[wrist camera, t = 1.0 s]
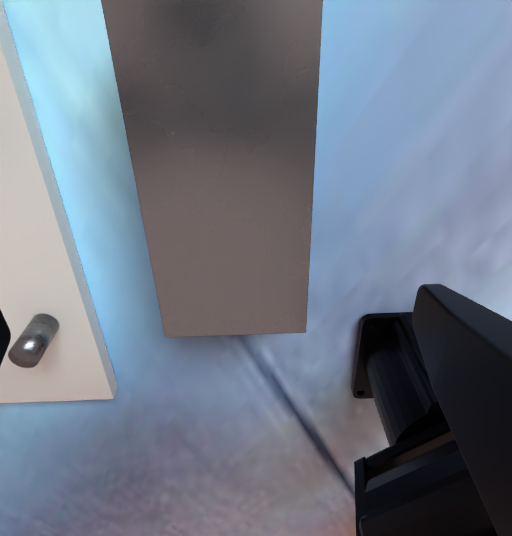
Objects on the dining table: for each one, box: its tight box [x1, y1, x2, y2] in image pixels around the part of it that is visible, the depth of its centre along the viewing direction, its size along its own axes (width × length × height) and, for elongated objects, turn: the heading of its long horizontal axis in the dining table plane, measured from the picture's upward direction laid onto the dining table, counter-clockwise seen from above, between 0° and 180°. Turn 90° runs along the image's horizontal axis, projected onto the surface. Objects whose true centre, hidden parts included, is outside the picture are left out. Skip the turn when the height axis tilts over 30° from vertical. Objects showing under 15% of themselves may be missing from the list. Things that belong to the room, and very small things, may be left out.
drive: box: [101, 0, 323, 337], centre depth 16 cm, size 12×6×5 cm, turn 2°
